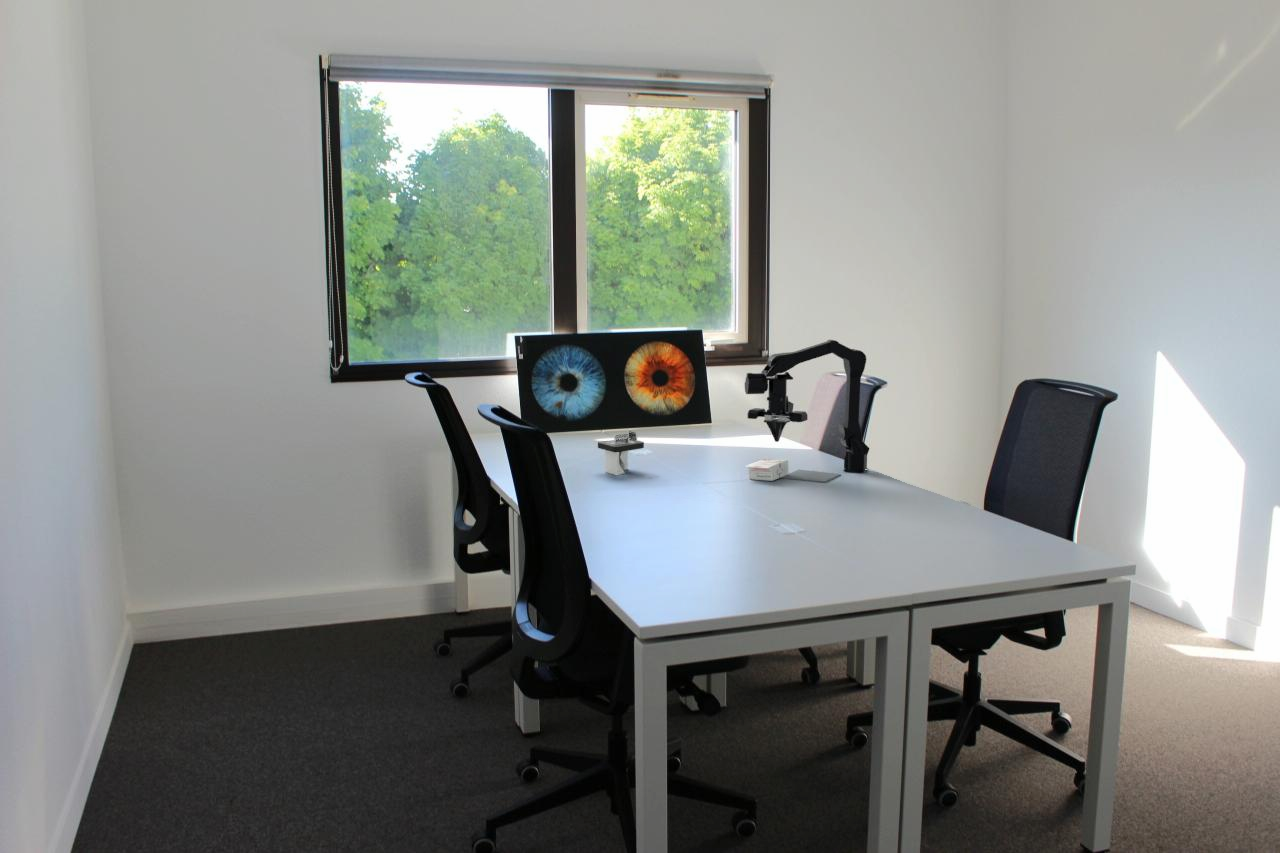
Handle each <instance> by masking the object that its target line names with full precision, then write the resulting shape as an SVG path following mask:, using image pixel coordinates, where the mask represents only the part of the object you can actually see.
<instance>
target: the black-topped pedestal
mask: <svg viewBox="0 0 1280 853" xmlns="http://www.w3.org/2000/svg"><path fill="white" fill-rule="evenodd" d="M625 437H626V438H625ZM613 438H614V440H605V441H602V440H601V441H598V442H597V448H598V449H600V450H604V472H605V473H607V474H611V475H614V476H620V475H623V474H625V471H626V470H628V468H629V462H628V459H629V456H628V454H629V451H633V450H635V451H636V450H639V449H644V448H645V446H644V445H645V442H644V441H641V440H638V433H637V432H633V431H632V430H631V431H630V430H627V433H625V434H622V435H619V434H617V435H616V434H613Z"/></svg>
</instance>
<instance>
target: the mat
mask: <svg viewBox="0 0 1280 853" xmlns="http://www.w3.org/2000/svg"><path fill="white" fill-rule="evenodd" d="M840 476H841V473H834V472H827V471H826V472H825V471H818V470H817V471H816V470H815V471H814V470H806V469H797V470H794V471H792V472H789V474H788V475H786V476H783V477H781V479H786V480H787V479H788V480H796V481H797V480H798V481H804V482H815V483H822V484H823V483H824V484H826V483H828V482H829V481H832V480H834V479H835V478H838V477H840Z"/></svg>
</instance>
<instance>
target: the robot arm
mask: <svg viewBox="0 0 1280 853" xmlns="http://www.w3.org/2000/svg"><path fill="white" fill-rule="evenodd" d="M830 354H833V355H835V356H836V357H838V358H840V359H842V361H843V368H844V372H845V375H846V390H845V411H844V414H845V416H844V422H843V423H842V424H838V435H837V438H839V442H840V443H841V445H843V446H844V449H845V450H846V451H845V455H844V456H843V472H845V473H846V472H847V473H858V474H863V473H865V472H867V471H868V470H869V468H868V466H867V465H868V454H869V452H870V447H869V446H868V445H867V444H866V442H864V440H863V433H862V432H863V431H862V428H861V425H860V401H861V380H862V376H863V373H864V372H865V369H866V365H867V356H866V353H864V352H863V351H862V350H859V349H855V348H850V347H848V346H845V345H844V344H842V343H840V342H839V341H838V340H834V339H827V340H826V341H824V342H820V343H818V344H817V343H816V344H815V345H812V346H808V347H804V348H802V349H799V350H795V351H790V352H780V353H773V354H771V355H770V356H769V357H768V358H767V361H766V363H767V364H766V365H765V367H764V368H763V369H762V370H761V372H759V373H758V372H757V373H754V372H747V373H746V377H745V382H744V392H745V394H746V395H764V394H765V393H766V392H767V391H768V396H767V397H766V401H768V408H767V409H765V408H758V407H757V408H756V407H754V408H750V409H749V410H748V411H747V419H751V420H756V419H758V418H764V419H763V423H766V425H767V427H768V429H769V431H770V432H771V434H772V437H773V440H774V442H775V443H778V442H779V441H780V438H781V436H782V433H783V431H784V429H785V427H786V425H787V424H788V423H790V422H792V423H803V422H806V421H808V412H806V411H805V410H804V411H803V410H794V403H793V402H791V401H789V395H787V391H788V390H787V389H788V387H787V385H788V384H787V383H788V382H787V381H788V380H789V381H792V380H793V379H794V377H793V376H792V375H791V374H790V373H789V370H791V369H793V368H795V366H797V365H799V364H802V363H805V362H808V361H811V360H814V359H817V358H821V357H824V356H827V355H830ZM865 469H868V470H865Z"/></svg>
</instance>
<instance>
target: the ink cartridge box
mask: <svg viewBox="0 0 1280 853" xmlns="http://www.w3.org/2000/svg"><path fill="white" fill-rule="evenodd" d="M745 468H748V478H749V480H755V481H757V480H758V481H768V482H771V481H776V480H777V479H780V478H782V477H783V476H786V475H788V474H789V473H790V472H789V460H788V459H771V458H770V459H767V458H766V459H765V458H763V459H761V460H759V461H755V462H752V463H749V464H747V465H745Z"/></svg>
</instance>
